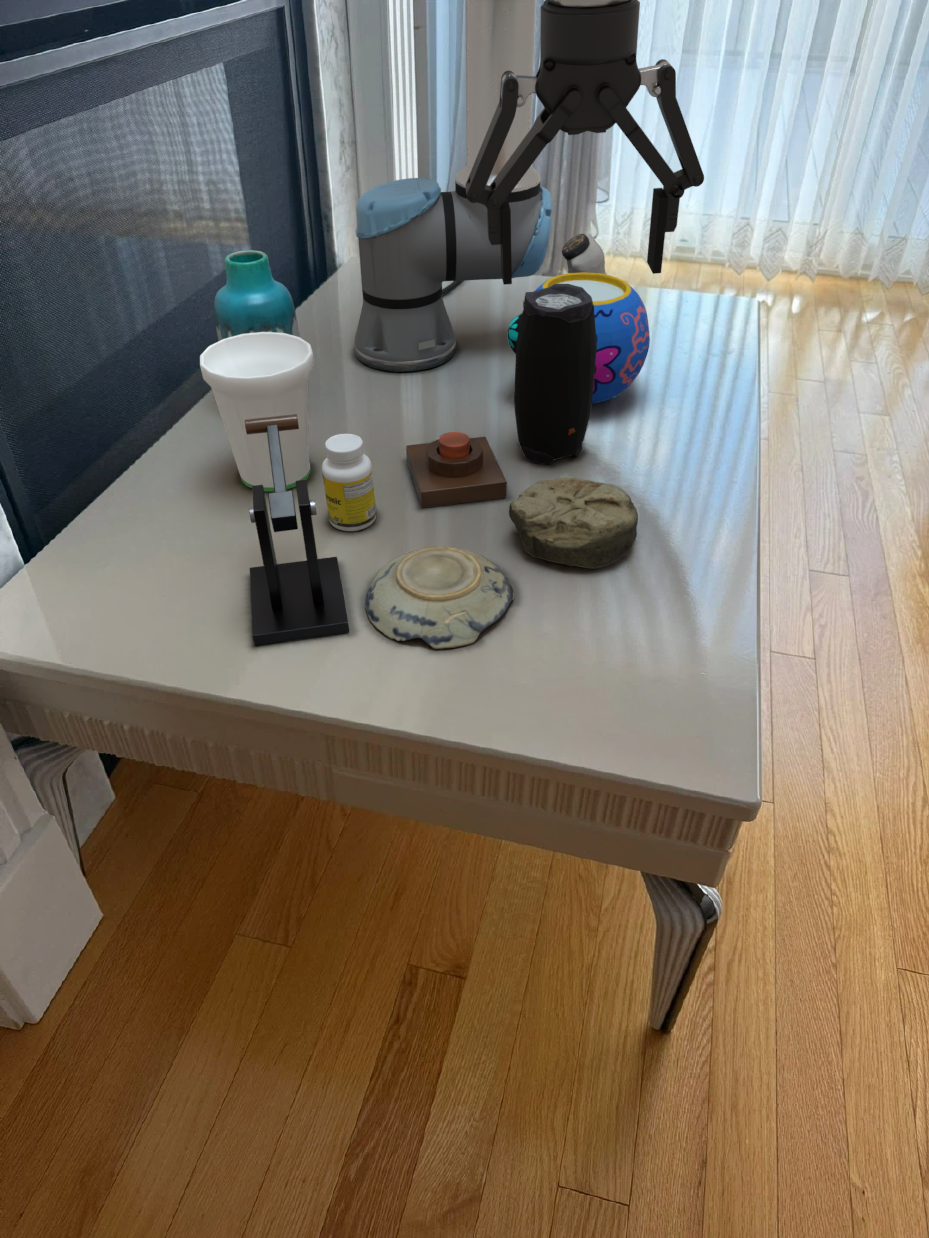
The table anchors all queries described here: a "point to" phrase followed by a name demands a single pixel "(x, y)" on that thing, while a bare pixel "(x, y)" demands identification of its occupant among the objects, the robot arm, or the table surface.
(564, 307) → the portable speaker
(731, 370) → the table surface
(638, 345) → the ceramic pot
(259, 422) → the lever
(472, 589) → the decorative bowl
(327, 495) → the supplement bottle
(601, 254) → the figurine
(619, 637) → the table surface
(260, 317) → the vase
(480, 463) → the button block
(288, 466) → the cup
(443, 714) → the table surface
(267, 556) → the bracket
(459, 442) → the button
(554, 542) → the stone
